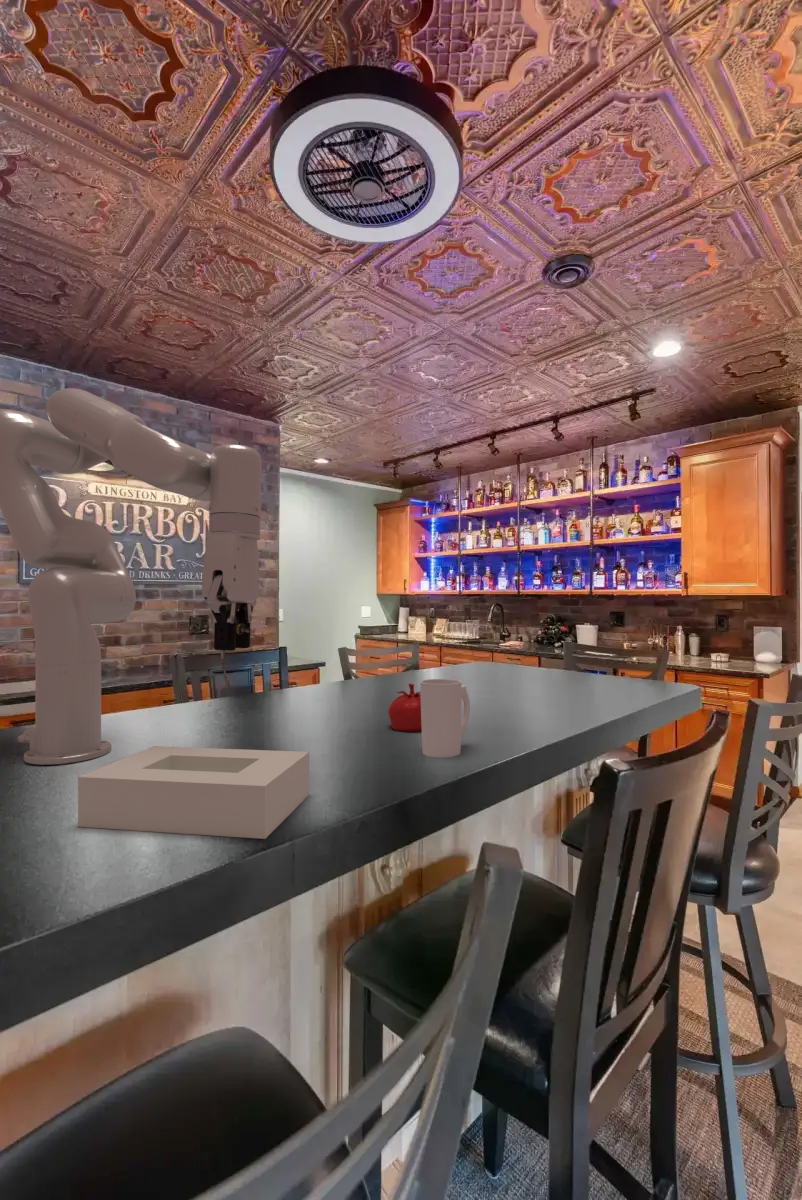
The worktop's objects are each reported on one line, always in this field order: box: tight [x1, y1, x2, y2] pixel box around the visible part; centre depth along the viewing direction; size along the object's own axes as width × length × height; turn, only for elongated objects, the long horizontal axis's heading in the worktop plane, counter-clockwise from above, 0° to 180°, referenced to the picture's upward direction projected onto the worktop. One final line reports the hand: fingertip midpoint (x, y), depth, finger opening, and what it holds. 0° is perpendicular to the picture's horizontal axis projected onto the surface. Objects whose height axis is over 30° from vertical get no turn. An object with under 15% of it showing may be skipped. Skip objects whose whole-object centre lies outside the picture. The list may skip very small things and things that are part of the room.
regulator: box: [209, 598, 251, 690], centre depth 84 cm, size 8×4×15 cm, turn 62°
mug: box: [419, 678, 471, 759], centre depth 92 cm, size 10×7×12 cm, turn 129°
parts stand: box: [77, 745, 310, 840], centre depth 67 cm, size 22×14×6 cm, turn 80°
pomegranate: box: [387, 683, 422, 733], centre depth 109 cm, size 10×10×9 cm
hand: (232, 647), depth 85 cm, fingers closed on regulator, 4 cm apart
